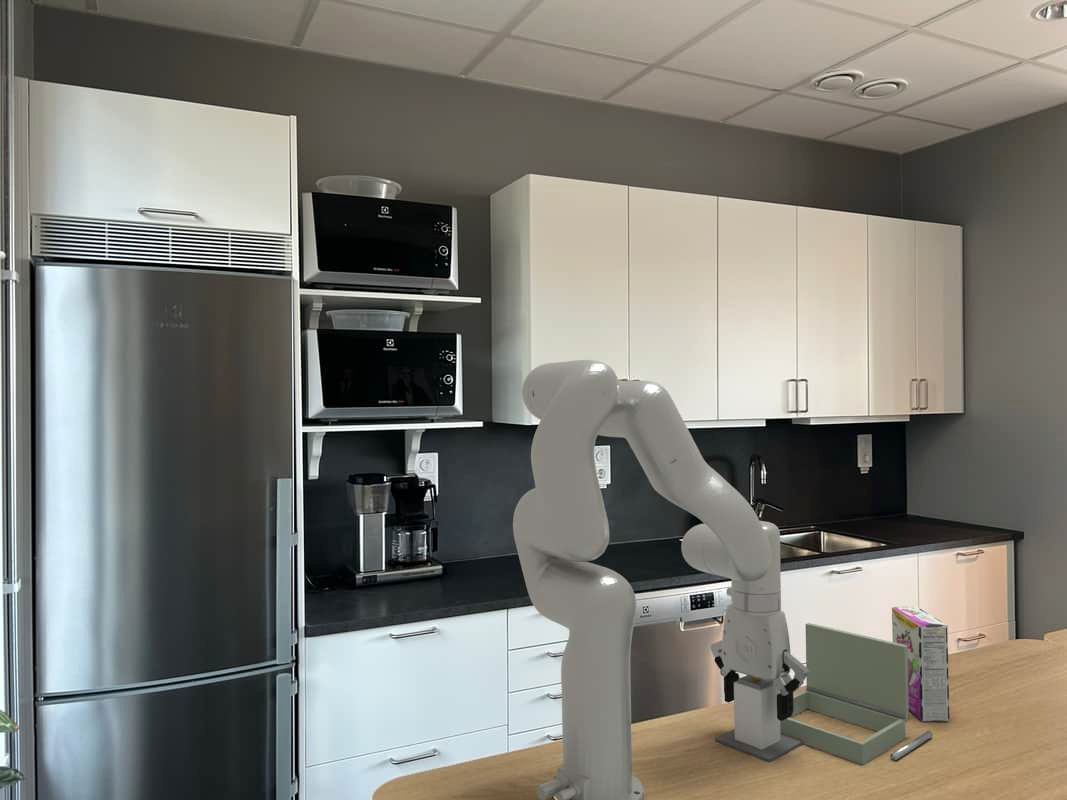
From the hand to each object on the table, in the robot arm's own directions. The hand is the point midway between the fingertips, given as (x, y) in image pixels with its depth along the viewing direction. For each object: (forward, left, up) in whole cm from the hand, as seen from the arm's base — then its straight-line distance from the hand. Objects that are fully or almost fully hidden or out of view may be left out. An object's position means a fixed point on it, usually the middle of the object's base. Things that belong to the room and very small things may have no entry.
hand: (757, 708), depth 126 cm
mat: (0, 0, -5) cm, 5 cm away
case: (+12, -6, -5) cm, 14 cm away
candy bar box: (+32, -11, -6) cm, 34 cm away
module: (0, 0, -5) cm, 5 cm away
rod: (+16, -17, -5) cm, 24 cm away
